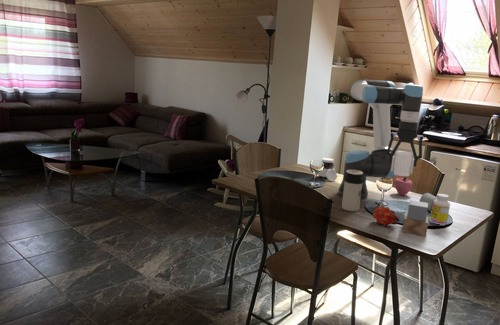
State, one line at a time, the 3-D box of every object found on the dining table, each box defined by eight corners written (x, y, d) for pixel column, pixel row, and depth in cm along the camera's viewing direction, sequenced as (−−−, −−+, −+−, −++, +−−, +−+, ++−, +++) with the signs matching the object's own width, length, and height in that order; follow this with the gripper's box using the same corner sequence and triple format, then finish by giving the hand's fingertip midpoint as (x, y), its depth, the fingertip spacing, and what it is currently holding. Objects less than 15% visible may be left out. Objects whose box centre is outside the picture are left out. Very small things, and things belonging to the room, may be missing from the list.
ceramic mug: (430, 213, 195) (433, 198, 194) (417, 208, 203) (420, 192, 201) (447, 212, 199) (450, 197, 197) (434, 207, 206) (437, 192, 205)
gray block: (407, 218, 169) (409, 204, 167) (407, 213, 175) (409, 199, 174) (425, 221, 166) (427, 207, 165) (425, 216, 172) (427, 202, 171)
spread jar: (323, 175, 256) (325, 156, 254) (340, 179, 250) (342, 160, 248) (314, 178, 247) (316, 159, 244) (332, 182, 240) (334, 163, 238)
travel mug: (338, 208, 195) (342, 170, 191) (347, 205, 200) (351, 168, 196) (353, 213, 189) (357, 174, 185) (362, 209, 195) (366, 172, 191)
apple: (414, 195, 224) (417, 177, 222) (404, 197, 219) (407, 179, 217) (399, 191, 231) (401, 173, 229) (389, 192, 227) (391, 175, 224)
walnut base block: (402, 232, 169) (404, 218, 168) (402, 225, 177) (404, 212, 176) (425, 237, 166) (428, 223, 165) (425, 229, 174) (427, 216, 173)
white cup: (391, 175, 184) (394, 153, 182) (392, 171, 191) (395, 150, 189) (410, 177, 181) (414, 155, 179) (410, 173, 189) (413, 152, 186)
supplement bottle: (427, 219, 186) (432, 192, 184) (442, 221, 186) (447, 193, 184) (433, 225, 180) (438, 196, 177) (449, 226, 180) (454, 197, 177)
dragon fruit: (370, 222, 183) (395, 235, 175) (364, 215, 177) (389, 228, 169) (381, 206, 184) (405, 218, 176) (375, 198, 178) (400, 210, 170)
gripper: (383, 119, 181) (377, 170, 186) (434, 124, 174) (426, 177, 179) (384, 117, 188) (378, 166, 193) (433, 122, 181) (425, 173, 186)
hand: (401, 171), depth 186 cm, fingers closed on white cup, 7 cm apart
